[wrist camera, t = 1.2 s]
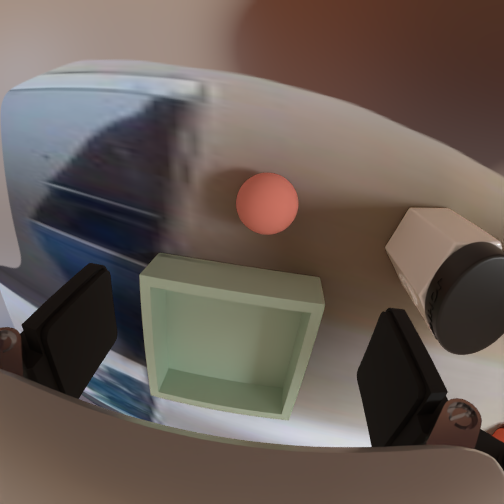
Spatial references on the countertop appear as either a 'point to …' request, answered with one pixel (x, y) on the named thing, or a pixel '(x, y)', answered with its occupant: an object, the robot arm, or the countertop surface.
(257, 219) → the tomato ball
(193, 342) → the green bin
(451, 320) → the jar
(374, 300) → the countertop surface
